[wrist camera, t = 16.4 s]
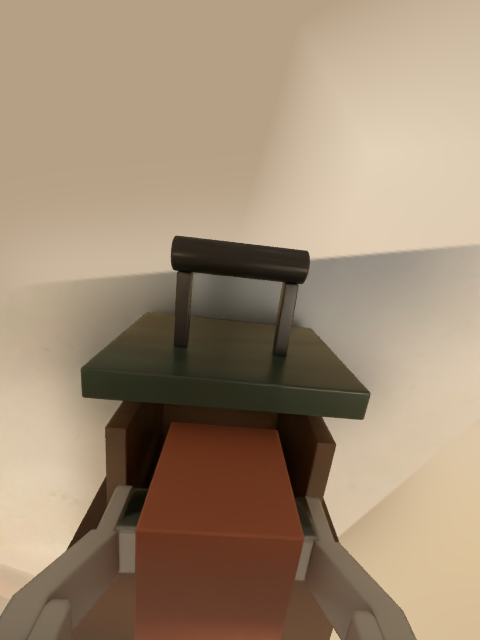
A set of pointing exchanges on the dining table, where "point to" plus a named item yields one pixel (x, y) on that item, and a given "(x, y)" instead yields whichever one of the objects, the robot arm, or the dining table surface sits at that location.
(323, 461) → the drawer
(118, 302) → the dining table surface
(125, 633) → the cabinet
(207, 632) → the block
